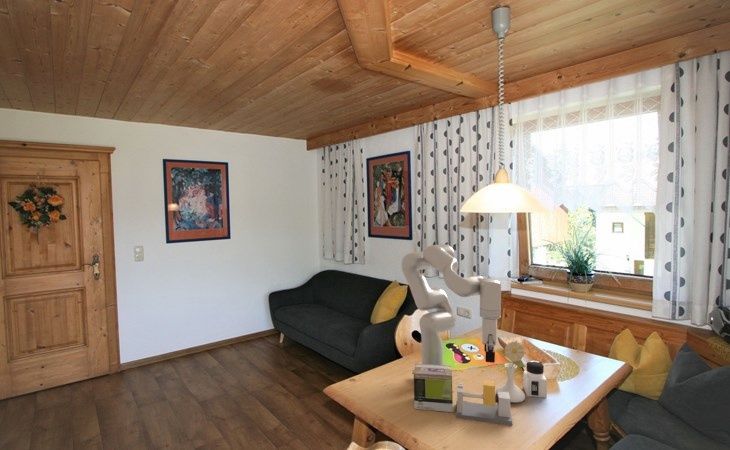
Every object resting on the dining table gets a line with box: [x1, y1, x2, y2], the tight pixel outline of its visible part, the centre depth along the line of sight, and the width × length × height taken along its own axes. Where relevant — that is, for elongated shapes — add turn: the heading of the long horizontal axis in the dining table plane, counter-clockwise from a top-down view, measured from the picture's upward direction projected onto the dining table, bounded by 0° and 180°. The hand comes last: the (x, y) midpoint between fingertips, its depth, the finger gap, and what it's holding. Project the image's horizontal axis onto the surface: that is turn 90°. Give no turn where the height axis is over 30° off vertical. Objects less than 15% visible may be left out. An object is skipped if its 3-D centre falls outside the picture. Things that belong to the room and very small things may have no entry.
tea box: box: [413, 363, 454, 413], centre depth 150 cm, size 15×10×15 cm, turn 78°
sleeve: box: [482, 379, 496, 406], centre depth 142 cm, size 4×4×8 cm
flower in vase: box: [495, 340, 526, 403], centre depth 154 cm, size 13×11×25 cm
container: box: [522, 360, 548, 399], centre depth 159 cm, size 8×8×13 cm
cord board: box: [455, 382, 513, 426], centre depth 143 cm, size 20×10×10 cm, turn 75°
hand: (489, 356), depth 142 cm, fingers open, 9 cm apart
